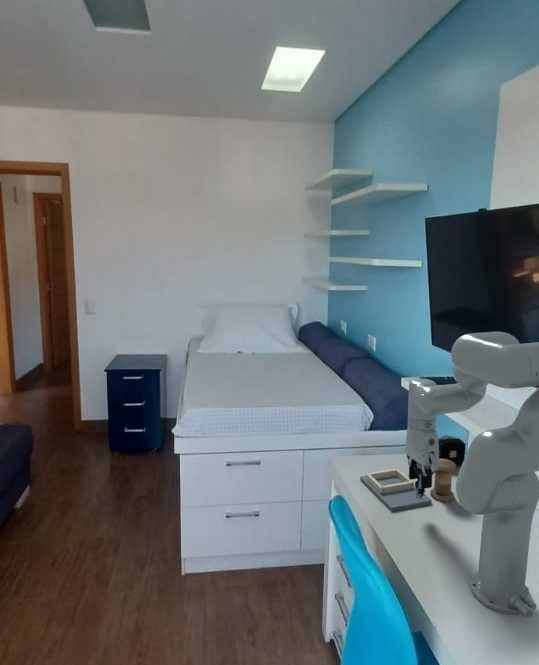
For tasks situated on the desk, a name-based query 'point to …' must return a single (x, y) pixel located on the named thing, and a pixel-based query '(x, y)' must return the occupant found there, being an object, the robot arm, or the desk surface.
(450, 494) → the wooden cabinet knob
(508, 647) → the desk surface
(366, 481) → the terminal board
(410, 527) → the desk surface
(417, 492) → the push button
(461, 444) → the cpu cooler
